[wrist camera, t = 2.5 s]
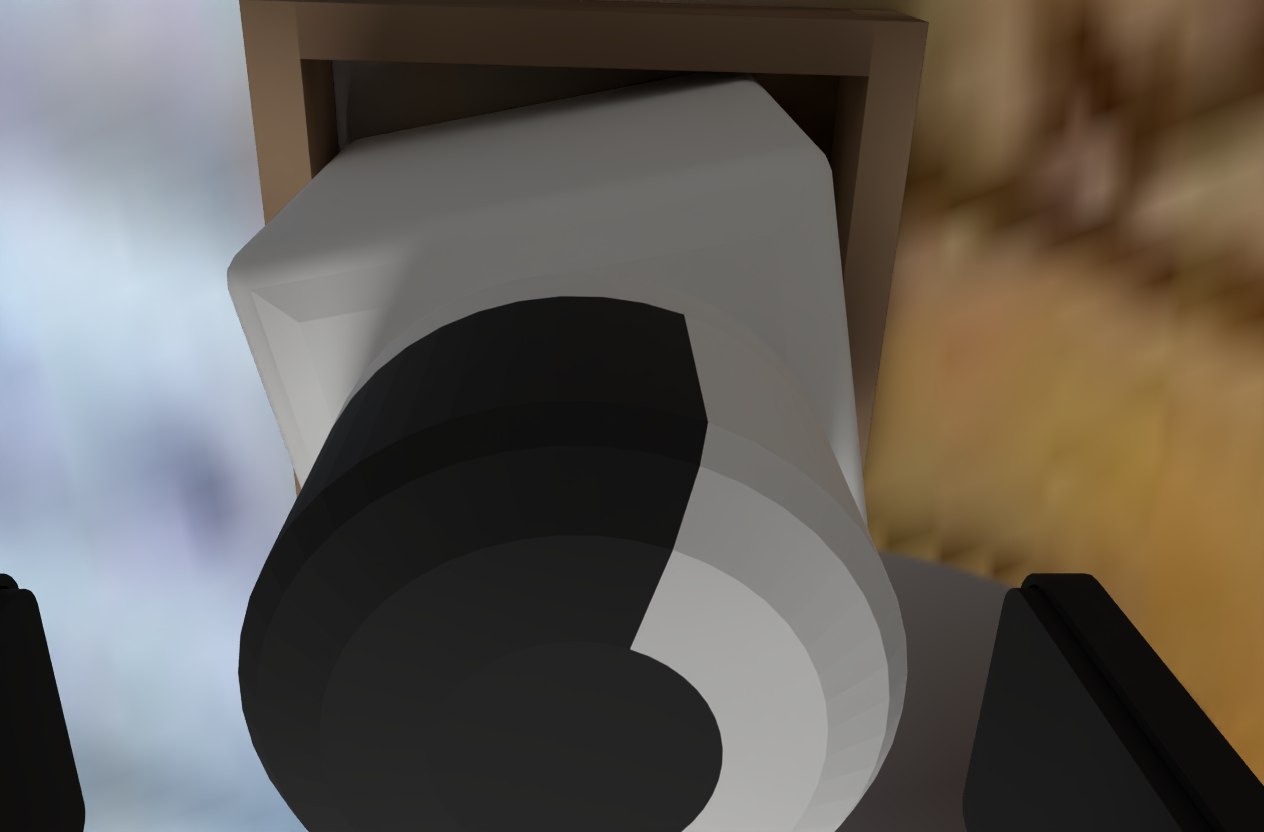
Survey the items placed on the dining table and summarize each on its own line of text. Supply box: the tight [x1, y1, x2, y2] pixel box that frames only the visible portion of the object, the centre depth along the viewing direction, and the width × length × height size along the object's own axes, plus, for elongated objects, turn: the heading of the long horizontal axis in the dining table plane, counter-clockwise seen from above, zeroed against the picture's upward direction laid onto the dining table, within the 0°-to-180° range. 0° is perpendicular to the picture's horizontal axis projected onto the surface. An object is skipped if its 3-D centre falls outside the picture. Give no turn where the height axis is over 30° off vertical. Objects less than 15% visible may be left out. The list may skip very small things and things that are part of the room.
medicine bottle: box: [227, 71, 907, 832], centre depth 14 cm, size 7×7×12 cm
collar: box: [239, 0, 929, 497], centre depth 19 cm, size 10×10×2 cm
